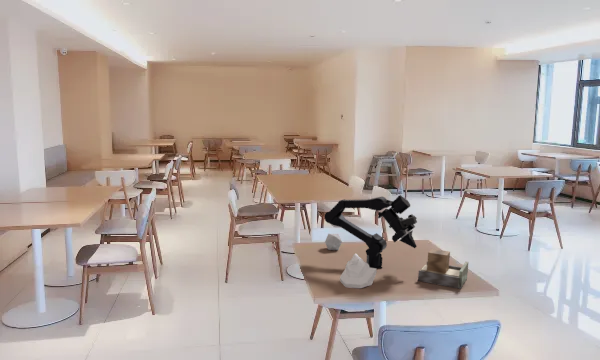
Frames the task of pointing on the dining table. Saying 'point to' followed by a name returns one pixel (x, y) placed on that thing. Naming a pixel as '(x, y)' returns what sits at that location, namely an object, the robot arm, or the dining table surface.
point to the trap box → (445, 276)
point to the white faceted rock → (357, 273)
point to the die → (333, 241)
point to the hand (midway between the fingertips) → (415, 247)
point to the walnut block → (438, 260)
